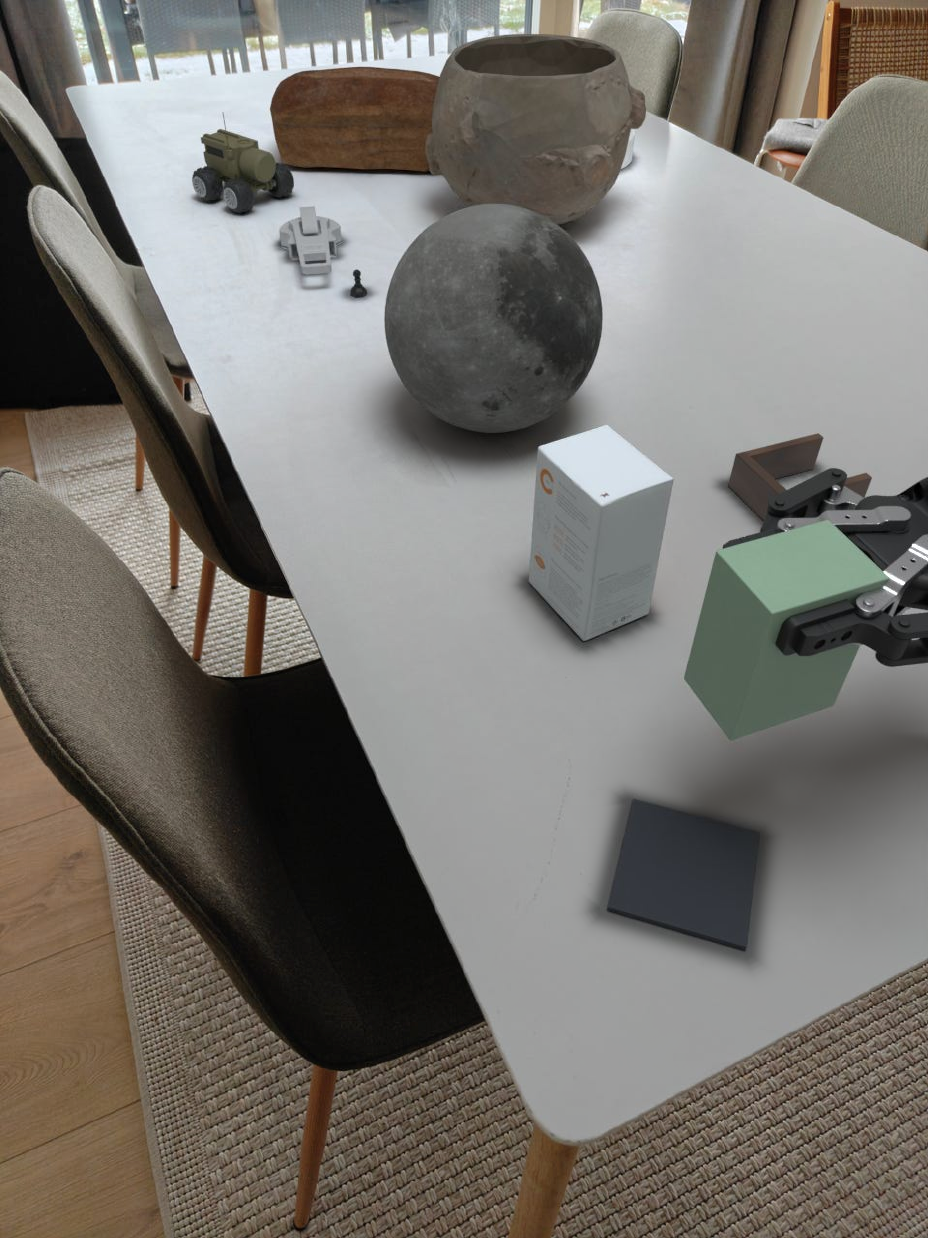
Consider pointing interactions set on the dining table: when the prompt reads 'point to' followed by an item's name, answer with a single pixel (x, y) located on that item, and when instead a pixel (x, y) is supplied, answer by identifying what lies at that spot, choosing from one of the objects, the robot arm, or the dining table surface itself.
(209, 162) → the toy vehicle
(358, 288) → the chess pawn
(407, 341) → the decorative sphere
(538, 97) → the bowl
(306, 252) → the zipper pull
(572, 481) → the small box
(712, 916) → the rubber mat
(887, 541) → the robot arm
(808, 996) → the dining table surface
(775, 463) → the u-shaped bracket
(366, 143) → the bread
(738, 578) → the green rectangular block
